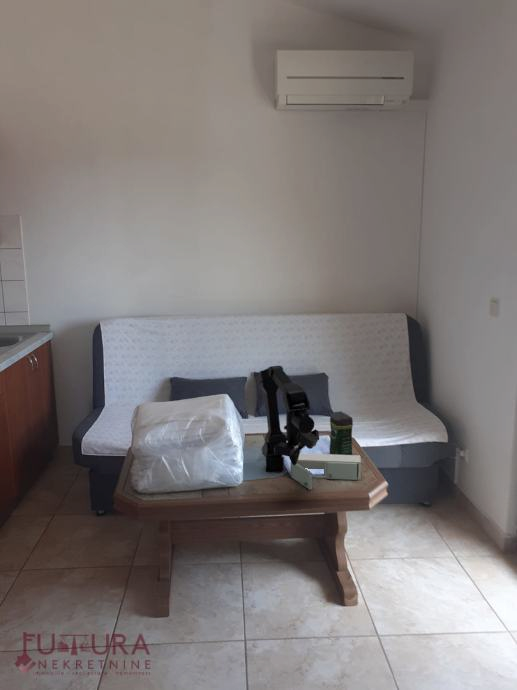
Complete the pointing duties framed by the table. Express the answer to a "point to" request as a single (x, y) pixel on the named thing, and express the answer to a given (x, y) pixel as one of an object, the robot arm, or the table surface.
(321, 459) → the cabinet
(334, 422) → the coffee jar
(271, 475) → the table surface
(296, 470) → the door
